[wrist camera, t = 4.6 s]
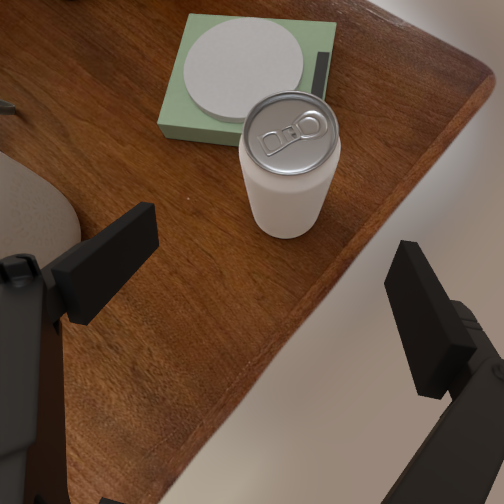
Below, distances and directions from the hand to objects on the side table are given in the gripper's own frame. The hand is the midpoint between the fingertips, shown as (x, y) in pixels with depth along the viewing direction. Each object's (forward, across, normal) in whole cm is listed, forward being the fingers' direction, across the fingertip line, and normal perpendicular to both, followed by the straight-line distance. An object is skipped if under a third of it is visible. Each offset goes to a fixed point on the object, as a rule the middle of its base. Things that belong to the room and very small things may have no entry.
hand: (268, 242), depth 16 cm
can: (+13, 0, -4) cm, 14 cm away
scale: (+22, -6, +6) cm, 24 cm away
